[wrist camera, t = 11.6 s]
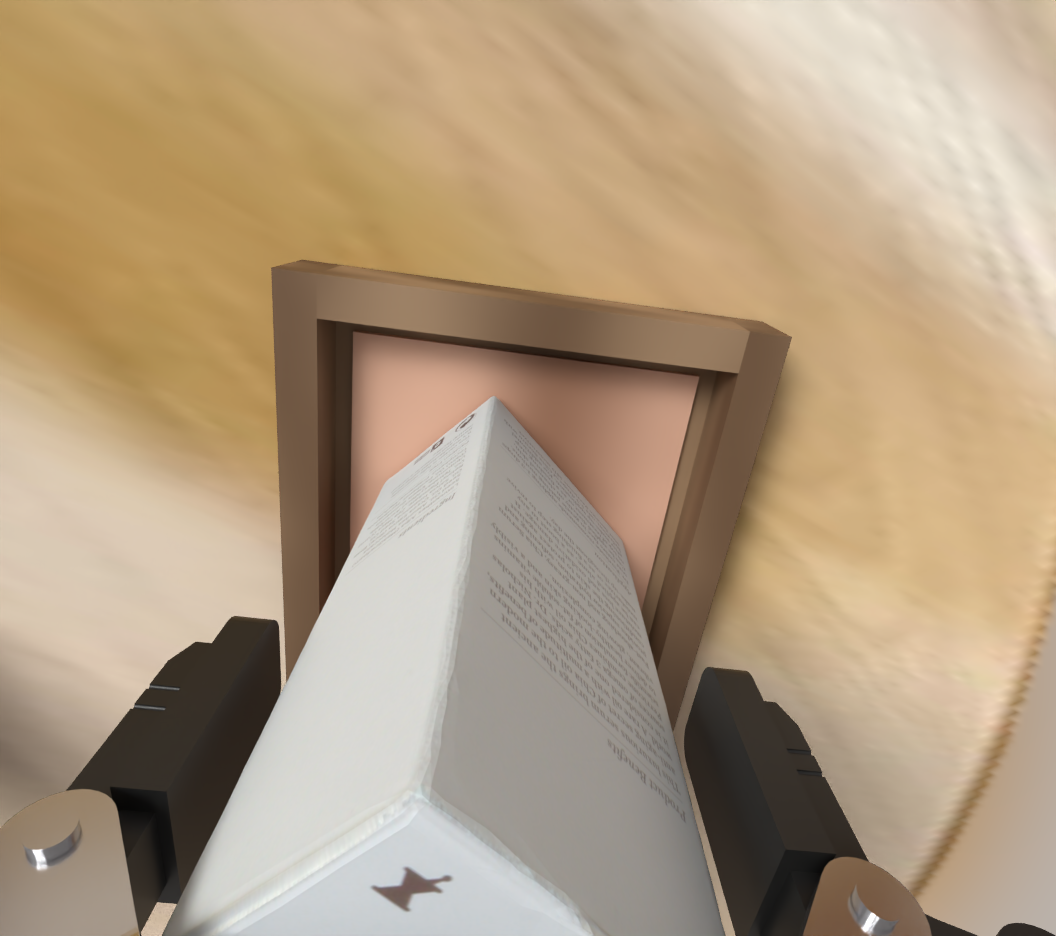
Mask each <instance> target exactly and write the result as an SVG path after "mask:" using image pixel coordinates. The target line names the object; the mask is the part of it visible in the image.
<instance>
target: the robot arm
mask: <svg viewBox="0 0 1056 936" xmlns="http://www.w3.org/2000/svg"><path fill="white" fill-rule="evenodd" d="M280 691H281V670H280V641H279V626H278V623H277V621H275V620H268V619H258V618H249V617H239V616H233V617H231V618H230V619H229V620H228V622H227V623H226V624H225V626H224V627H223V628H222V630H221V631H220V633H219V634H218V635H217V637H216V638H215V640H214V641H213V642H212V643H204V642H195V643H193V644H192V645H191V646H189V647H188V648H186V649H185V650H183V651H182V652H180V653H179V654H177V655H176V656H174V657H173V658H171V659H170V660H168V662H167V663H166V664H165V666H164V667H163V668H162V669H161V671H160V672H159V673H158V674H157V676H156V677H155V678H154V680H153V681H152V682H151V683H150V687H149V689H146V690H145V691H144V692H143V694H142V695H141V696H140V697H139V699H138V700H137V701H136V703H135V706H134V708H133V709H130V710H129V712H128V713H127V714H126V715H125V717H124V718H123V719H122V720H121V722H120V723H119V724H118V726H117V727H116V728H115V729H114V731H113V732H112V733H111V735H110V736H109V737H108V738H107V740H106V741H105V742H104V743H103V745H102V746H101V747H100V749H99V750H98V751H97V752H96V754H95V755H94V756H93V758H92V759H91V760H90V761H89V763H88V764H87V765H86V766H85V768H84V769H83V770H82V772H81V773H80V774H79V775H78V777H77V778H76V779H75V781H74V782H73V783H72V784H71V786H70V787H69V788H68V789H67V790H66V791H64V792H60V793H57V794H54V795H50V796H48V797H46V798H43V799H41V800H39V801H37V802H35V803H33V804H31V805H29V806H28V807H26V808H25V809H23V810H22V811H20V812H19V813H17V814H16V815H15V816H13V817H12V818H11V819H10V820H8V821H7V822H6V823H5V824H4V825H3V826H2V827H1V828H0V936H141V931H142V929H143V927H144V926H145V924H146V922H147V920H148V918H149V916H150V914H151V912H152V910H153V909H154V907H155V905H156V903H157V902H162V903H174V904H177V903H178V901H179V899H180V897H181V895H182V893H183V891H184V889H185V887H186V885H187V883H188V881H189V879H190V877H191V875H192V873H193V871H194V869H195V867H196V865H197V863H198V861H199V859H200V857H201V855H202V853H203V851H204V849H205V847H206V845H207V843H208V841H209V839H210V837H211V835H212V833H213V831H214V829H215V827H216V825H217V823H218V821H219V819H220V817H221V815H222V813H223V811H224V809H225V807H226V805H227V803H228V801H229V799H230V797H231V795H232V793H233V791H234V788H235V786H236V784H237V782H238V780H239V778H240V776H241V774H242V772H243V769H244V767H245V765H246V763H247V761H248V759H249V757H250V755H251V753H252V751H253V749H254V747H255V745H256V743H257V741H258V739H259V737H260V735H261V733H262V731H263V729H264V727H265V725H266V723H267V721H268V719H269V717H270V715H271V713H272V711H273V709H274V706H275V704H276V702H277V700H278V698H279V696H280ZM684 751H685V758H686V763H687V766H688V770H689V774H690V777H691V781H692V784H693V788H694V791H695V795H696V798H697V802H698V805H699V809H700V812H701V816H702V819H703V823H704V826H705V830H706V833H707V837H708V840H709V844H710V847H711V851H712V854H713V858H714V861H715V865H716V868H717V872H718V875H719V879H720V882H721V886H722V889H723V893H724V896H725V900H726V903H727V907H728V910H729V914H730V917H731V921H732V924H733V928H734V931H735V935H736V936H977V935H975V934H972V933H970V932H967V931H965V930H962V929H960V928H957V927H955V926H952V925H950V924H947V923H945V922H942V921H940V920H937V919H935V918H933V917H930V916H928V915H926V914H924V912H923V910H922V908H921V907H920V905H919V904H918V902H917V901H916V899H915V898H914V897H913V895H912V894H911V893H910V892H909V891H908V890H907V889H906V888H905V887H904V886H903V885H902V884H901V883H900V882H899V881H898V880H897V879H896V878H894V877H893V876H892V875H891V874H889V873H888V872H886V871H885V870H883V869H882V868H880V867H878V866H876V865H875V864H873V863H870V862H869V861H868V859H867V858H866V856H865V854H864V852H863V850H862V848H861V846H860V844H859V842H858V840H857V838H856V836H855V834H854V832H853V831H852V829H851V827H850V825H849V823H848V821H847V819H846V817H845V815H844V813H843V811H842V809H841V807H840V806H839V804H838V802H837V800H836V798H835V796H834V794H833V792H832V790H831V788H830V786H829V784H828V782H827V780H826V779H825V777H822V771H821V769H820V767H819V765H818V763H817V761H816V759H815V757H814V756H811V750H810V748H809V746H808V744H807V742H806V740H805V738H804V736H803V734H802V732H801V730H800V728H799V727H798V725H797V724H796V723H795V722H794V721H793V720H792V719H791V718H790V717H789V716H788V715H787V714H786V713H785V712H784V711H783V709H782V708H781V707H780V706H779V705H778V704H777V703H775V702H766V701H763V698H762V696H761V694H760V692H759V690H758V688H757V686H756V684H755V682H754V680H753V678H752V676H751V674H750V673H749V672H747V671H741V670H732V669H722V668H713V667H707V668H706V669H705V670H704V672H703V674H702V676H701V680H700V683H699V686H698V689H697V692H696V696H695V699H694V702H693V705H692V708H691V712H690V715H689V718H688V721H687V724H686V729H685V736H684ZM996 936H1055V935H1053V934H1051V933H1049V932H1047V931H1045V930H1043V929H1041V928H1038V927H1035V926H1032V925H1028V924H1024V923H1012V924H1008V925H1006V926H1004V927H1003V928H1002V929H1001V930H1000V931H999V932H998V934H997V935H996Z"/></svg>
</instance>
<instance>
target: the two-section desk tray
mask: <svg viewBox="0 0 1056 936" xmlns="http://www.w3.org/2000/svg"><path fill="white" fill-rule="evenodd" d="M271 271H272V299H273V326H274V353H275V381H276V408H277V436H278V463H279V491H280V518H281V546H282V573H283V600H284V628H285V655H286V683H287V681H288V679H289V676H290V674H291V672H292V670H293V668H294V666H295V664H296V662H297V660H298V658H299V656H300V654H301V652H302V650H303V648H304V646H305V644H306V642H307V640H308V638H309V635H310V633H311V631H312V629H313V627H314V625H315V623H316V621H317V619H318V617H319V615H320V613H321V611H322V609H323V607H324V605H325V603H326V601H327V599H328V597H329V595H330V593H331V591H332V589H333V587H334V585H335V583H336V581H337V579H338V577H339V575H340V573H341V571H342V568H343V566H344V564H345V562H346V560H347V558H348V556H349V554H350V552H351V550H352V548H353V546H354V544H355V542H356V540H357V538H358V536H359V534H360V532H361V530H362V528H363V526H364V524H365V522H366V520H367V518H368V516H369V514H370V512H371V510H372V508H373V506H374V504H375V502H376V500H377V498H378V496H379V494H380V491H381V489H382V487H383V485H384V484H385V482H386V481H387V480H388V479H389V478H391V477H392V476H394V475H395V474H396V473H397V472H399V471H400V470H401V469H403V468H404V467H405V466H406V465H408V464H409V463H410V462H411V461H413V460H414V459H415V458H416V457H418V456H419V455H420V454H421V453H422V452H424V451H425V450H426V449H427V448H428V447H430V446H431V445H432V444H433V443H434V442H436V441H437V440H438V439H439V438H440V437H442V436H443V435H444V434H445V433H446V432H448V431H449V430H450V429H452V428H453V427H454V426H455V425H457V424H458V423H459V422H461V421H462V420H463V419H464V418H466V417H467V416H468V415H469V414H471V413H472V412H473V411H474V410H476V409H477V408H478V407H479V406H481V405H482V404H483V403H484V402H486V401H487V400H488V399H489V398H491V397H493V396H496V397H497V398H498V399H499V400H500V401H501V402H502V404H503V405H504V406H505V407H506V408H507V409H508V411H509V412H510V413H511V414H512V415H513V416H514V417H515V419H516V420H517V421H518V422H519V423H520V424H521V425H522V427H523V428H524V429H525V430H526V431H527V432H528V433H529V435H530V436H531V437H532V438H533V439H534V440H535V441H536V443H537V444H538V445H539V446H540V447H541V448H542V449H543V450H544V452H545V453H546V454H547V455H548V456H549V457H550V458H551V460H552V461H553V462H554V463H555V464H556V465H557V467H558V468H559V469H560V470H561V471H562V472H563V473H564V474H565V475H566V477H567V478H568V479H569V480H570V481H571V482H572V484H573V485H574V486H575V487H576V488H577V489H578V490H579V492H580V493H581V494H582V495H583V496H584V497H585V498H586V500H587V501H588V502H589V503H590V504H591V505H592V507H593V508H594V509H595V510H596V511H597V512H598V513H599V515H600V516H601V517H602V518H603V519H604V520H605V521H606V523H607V524H608V525H609V526H610V527H611V528H612V530H613V531H614V532H615V533H616V534H617V535H618V536H619V537H620V538H621V540H622V541H623V544H624V548H625V551H626V555H627V559H628V563H629V566H630V570H631V575H632V578H633V582H634V586H635V590H636V594H637V598H638V602H639V606H640V610H641V613H642V617H643V621H644V625H645V628H646V632H647V636H648V640H649V644H650V647H651V651H652V655H653V659H654V663H655V666H656V670H657V674H658V678H659V682H660V686H661V689H662V693H663V696H664V700H665V704H666V707H667V712H668V716H669V720H670V724H671V727H672V731H673V730H674V727H675V723H676V720H677V717H678V713H679V710H680V707H681V703H682V700H683V697H684V693H685V690H686V687H687V683H688V680H689V677H690V674H691V670H692V667H693V664H694V660H695V657H696V654H697V650H698V647H699V644H700V640H701V637H702V634H703V630H704V627H705V624H706V620H707V617H708V614H709V611H710V607H711V604H712V601H713V597H714V594H715V591H716V587H717V584H718V581H719V577H720V574H721V571H722V567H723V564H724V561H725V557H726V554H727V551H728V547H729V544H730V541H731V538H732V534H733V531H734V528H735V524H736V521H737V518H738V514H739V511H740V508H741V504H742V501H743V498H744V494H745V491H746V488H747V484H748V481H749V478H750V475H751V471H752V468H753V465H754V461H755V458H756V455H757V451H758V448H759V445H760V441H761V438H762V435H763V431H764V428H765V425H766V421H767V418H768V415H769V411H770V408H771V405H772V402H773V398H774V395H775V392H776V388H777V385H778V382H779V378H780V375H781V372H782V368H783V365H784V362H785V358H786V355H787V352H788V348H789V345H790V342H791V338H792V337H790V336H788V335H787V334H785V333H783V332H781V331H779V330H777V329H775V328H773V327H771V326H769V325H767V324H766V323H764V322H760V321H753V320H745V319H738V318H731V317H723V316H716V315H708V314H701V313H693V312H686V311H679V310H671V309H664V308H656V307H649V306H641V305H634V304H626V303H619V302H612V301H604V300H597V299H589V298H582V297H574V296H567V295H560V294H552V293H545V292H537V291H530V290H522V289H515V288H508V287H500V286H493V285H485V284H478V283H470V282H463V281H456V280H448V279H441V278H433V277H426V276H418V275H411V274H403V273H396V272H389V271H381V270H374V269H366V268H359V267H351V266H344V265H337V264H329V263H322V262H314V261H307V260H300V261H296V262H292V263H288V264H284V265H280V266H276V267H272V268H271Z"/></svg>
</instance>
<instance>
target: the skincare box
mask: <svg viewBox="0 0 1056 936" xmlns="http://www.w3.org/2000/svg"><path fill="white" fill-rule="evenodd" d="M162 936H726V935H725V932H724V929H723V925H722V922H721V917H720V913H719V908H718V904H717V900H716V896H715V892H714V888H713V884H712V881H711V877H710V873H709V870H708V866H707V862H706V858H705V854H704V850H703V846H702V842H701V838H700V834H699V831H698V827H697V824H696V820H695V816H694V812H693V808H692V804H691V800H690V796H689V792H688V788H687V785H686V781H685V777H684V774H683V770H682V766H681V762H680V759H679V755H678V751H677V747H676V743H675V739H674V735H673V731H672V727H671V724H670V720H669V716H668V712H667V707H666V704H665V700H664V696H663V693H662V689H661V686H660V682H659V678H658V674H657V670H656V666H655V663H654V659H653V655H652V651H651V647H650V644H649V640H648V636H647V632H646V628H645V625H644V621H643V617H642V613H641V610H640V606H639V602H638V598H637V594H636V590H635V586H634V582H633V578H632V575H631V570H630V566H629V563H628V559H627V555H626V551H625V548H624V544H623V541H622V540H621V538H620V537H619V536H618V535H617V534H616V533H615V532H614V531H613V530H612V528H611V527H610V526H609V525H608V524H607V523H606V521H605V520H604V519H603V518H602V517H601V516H600V515H599V513H598V512H597V511H596V510H595V509H594V508H593V507H592V505H591V504H590V503H589V502H588V501H587V500H586V498H585V497H584V496H583V495H582V494H581V493H580V492H579V490H578V489H577V488H576V487H575V486H574V485H573V484H572V482H571V481H570V480H569V479H568V478H567V477H566V475H565V474H564V473H563V472H562V471H561V470H560V469H559V468H558V467H557V465H556V464H555V463H554V462H553V461H552V460H551V458H550V457H549V456H548V455H547V454H546V453H545V452H544V450H543V449H542V448H541V447H540V446H539V445H538V444H537V443H536V441H535V440H534V439H533V438H532V437H531V436H530V435H529V433H528V432H527V431H526V430H525V429H524V428H523V427H522V425H521V424H520V423H519V422H518V421H517V420H516V419H515V417H514V416H513V415H512V414H511V413H510V412H509V411H508V409H507V408H506V407H505V406H504V405H503V404H502V402H501V401H500V400H499V399H498V398H497V397H496V396H493V397H491V398H489V399H488V400H487V401H486V402H484V403H483V404H482V405H481V406H479V407H478V408H477V409H476V410H474V411H473V412H472V413H471V414H469V415H468V416H467V417H466V418H464V419H463V420H462V421H461V422H459V423H458V424H457V425H455V426H454V427H453V428H452V429H450V430H449V431H448V432H446V433H445V434H444V435H443V436H442V437H440V438H439V439H438V440H437V441H436V442H434V443H433V444H432V445H431V446H430V447H428V448H427V449H426V450H425V451H424V452H422V453H421V454H420V455H419V456H418V457H416V458H415V459H414V460H413V461H411V462H410V463H409V464H408V465H406V466H405V467H404V468H403V469H401V470H400V471H399V472H397V473H396V474H395V475H394V476H392V477H391V478H389V479H388V480H387V481H386V482H385V484H384V485H383V487H382V489H381V491H380V494H379V496H378V498H377V500H376V502H375V504H374V506H373V508H372V510H371V512H370V514H369V516H368V518H367V520H366V522H365V524H364V526H363V528H362V530H361V532H360V534H359V536H358V538H357V540H356V542H355V544H354V546H353V548H352V550H351V552H350V554H349V556H348V558H347V560H346V562H345V564H344V566H343V568H342V571H341V573H340V575H339V577H338V579H337V581H336V583H335V585H334V587H333V589H332V591H331V593H330V595H329V597H328V599H327V601H326V603H325V605H324V607H323V609H322V611H321V613H320V615H319V617H318V619H317V621H316V623H315V625H314V627H313V629H312V631H311V633H310V635H309V638H308V640H307V642H306V644H305V646H304V648H303V650H302V652H301V654H300V656H299V658H298V660H297V662H296V664H295V666H294V668H293V670H292V672H291V674H290V676H289V679H288V681H287V683H286V685H285V686H284V688H283V690H282V692H281V694H280V696H279V698H278V700H277V702H276V704H275V706H274V709H273V711H272V713H271V715H270V717H269V719H268V721H267V723H266V725H265V727H264V729H263V731H262V733H261V735H260V737H259V739H258V741H257V743H256V745H255V747H254V749H253V751H252V753H251V755H250V757H249V759H248V761H247V763H246V765H245V767H244V769H243V772H242V774H241V776H240V778H239V780H238V782H237V784H236V786H235V788H234V791H233V793H232V795H231V797H230V799H229V801H228V803H227V805H226V807H225V809H224V811H223V813H222V815H221V817H220V819H219V821H218V823H217V825H216V827H215V829H214V831H213V833H212V835H211V837H210V839H209V841H208V843H207V845H206V847H205V849H204V851H203V853H202V855H201V857H200V859H199V861H198V863H197V865H196V867H195V869H194V871H193V873H192V875H191V877H190V879H189V881H188V883H187V885H186V887H185V889H184V891H183V893H182V895H181V897H180V899H179V901H178V903H177V905H176V908H175V910H174V912H173V914H172V916H171V918H170V920H169V922H168V924H167V926H166V928H165V930H164V932H163V934H162Z"/></svg>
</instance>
